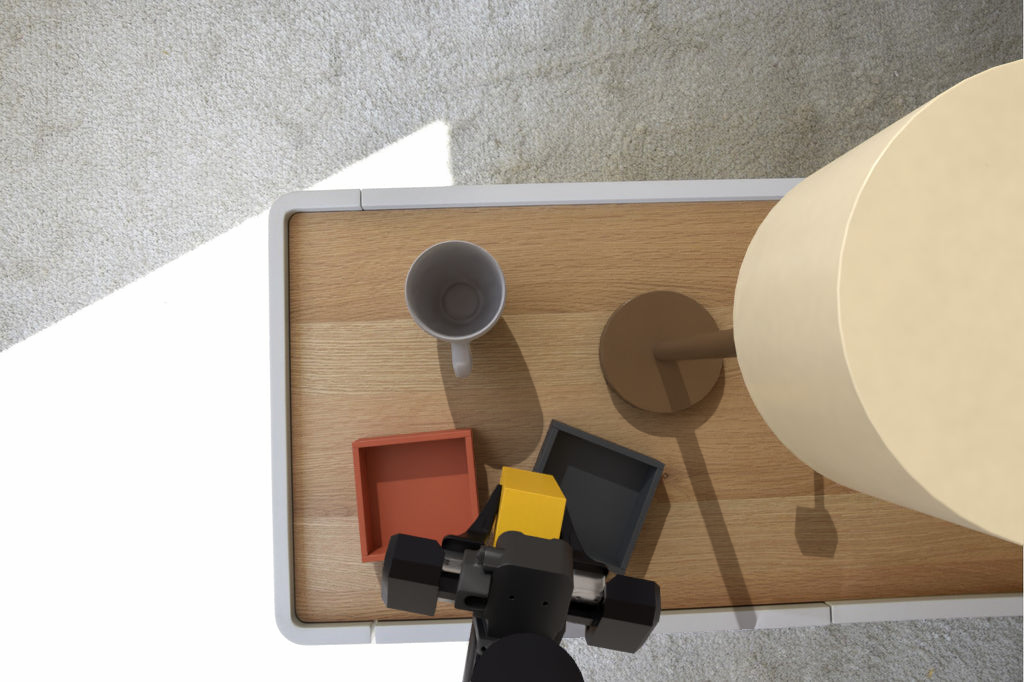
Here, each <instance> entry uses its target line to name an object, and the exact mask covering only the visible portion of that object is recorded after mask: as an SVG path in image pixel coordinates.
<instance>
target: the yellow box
mask: <svg viewBox="0 0 1024 682" xmlns="http://www.w3.org/2000/svg"><path fill="white" fill-rule="evenodd" d="M499 480H500V481H499V484H500V485H502V492H501V499H500V503H499V507H498V511H497V515H496V518H495V522H494V525H493V528H492V547H496V542H497V539H498V537H499V536H500V534H502V533H503V532H506V531H511V530H512V531H519V532H522V533H523V534H525V535H529V536H535V537H540V538H545V539H552V538H556V539H559V537H560V532H561V526H562V521H563V516H564V510H565V505H566V498H565V496H564V495H563V493H562V491H561V489H560V487H559V486H558V484H557V482H556V480H555V479H554V477H553V476H552V475H547V474H542V473H536V472H532V470H526V469H520V468H516V467H515V468H514V467H511V466H504V465H503V466H502V469H501V474H500V479H499Z"/></svg>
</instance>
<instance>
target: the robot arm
mask: <svg viewBox="0 0 1024 682" xmlns="http://www.w3.org/2000/svg"><path fill="white" fill-rule="evenodd" d="M501 492H502V485H500V483H497V484H496V486H495V488H494V489H493V491H492V493H491V495H490V496H489V498H488V499H487V500H486V502H485V504H484V506H483V508H482V509H481V510H480V514H479V516H478V517H477V519H476V520H475V521H474V523H473V524H472V525H471V526H470V527H469V528H468V530H467V531H466V532H464V533H462V534H460V535H452V534H449V535H446V536H444V537H443V540H442V545H441V546H440V544H439V543H438V542H437V540H433V539H428V538H422V537H417V536H412V535H407V534H401V533H398V534H395V535H392V536H391V537H390V541H389V544H388V548H387V551H386V554H385V558H384V561H383V565H382V569H381V589H380V590H381V591H380V592H381V593H380V598H381V600H382V602H383V604H384V605H385V607H386V609H391V610H396V611H401V612H406V613H412V614H417V615H423V616H428V617H435V615H436V610H437V605H438V602H441V603H447V604H452V605H453V608H454V609H456V610H461V611H466V612H471V613H472V619H471V624H470V625H471V626H470V630H469V631H470V632H469V638H468V643H467V651H466V657H465V663H464V669H463V675H462V681H461V682H585V679H584V676H583V672H582V670H581V669H580V667H579V666H578V664H577V662H576V660H575V659H574V658H573V656H571V654H570V653H569V652H568V651H567V650H566V649H565V648H564V647H563V646H562V645H561V643H562V640H563V638H564V635H565V633H566V631H567V623H571V624H577V625H583V626H584V639H585V642H586V645H587V646H590V647H595V648H600V649H605V650H610V651H615V652H621V653H626V654H632V655H634V654H636V653H637V652H638V651H639V650H640V649H641V648H642V647H643V646H644V645H645V643H646V641H647V640H648V639H649V637H650V636H651V634H652V633H653V631H654V630H655V628H656V627H657V626H658V624H659V623H660V620H661V619H660V618H661V613H662V598H661V586H660V585H659V584H658V583H657V582H656V581H655V580H650V579H644V578H640V577H635V576H629V575H625V574H624V575H619V574H615V575H614V576H613V577H612V578H610V579H609V580H608V581H606V580H607V578H608V576H609V574H610V571H609V569H608V567H607V565H606V564H604V563H601V562H597V561H595V560H593V559H592V558H590V557H589V556H588V555H587V554H586V553H585V552H584V550H583V548H582V546H581V544H580V542H579V540H578V537H577V535H576V532H575V530H574V526H573V524H572V521H571V518H570V515H569V512H568V509H567V506H566V505H565V510H564V516H563V521H562V526H561V532H560V537H559V539H556V538H552V539H545V538H540V537H535V536H529V535H525V534H523V533H522V532H519V531H512V530H511V531H506V532H503V533H502V534H500V536H499V537H498V539H497V542H496V547H493V545H492V546H491V545H488V544H489V541H490V537H491V535H492V532H493V525H494V522H495V518H496V515H497V511H498V507H499V503H500V499H501Z"/></svg>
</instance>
